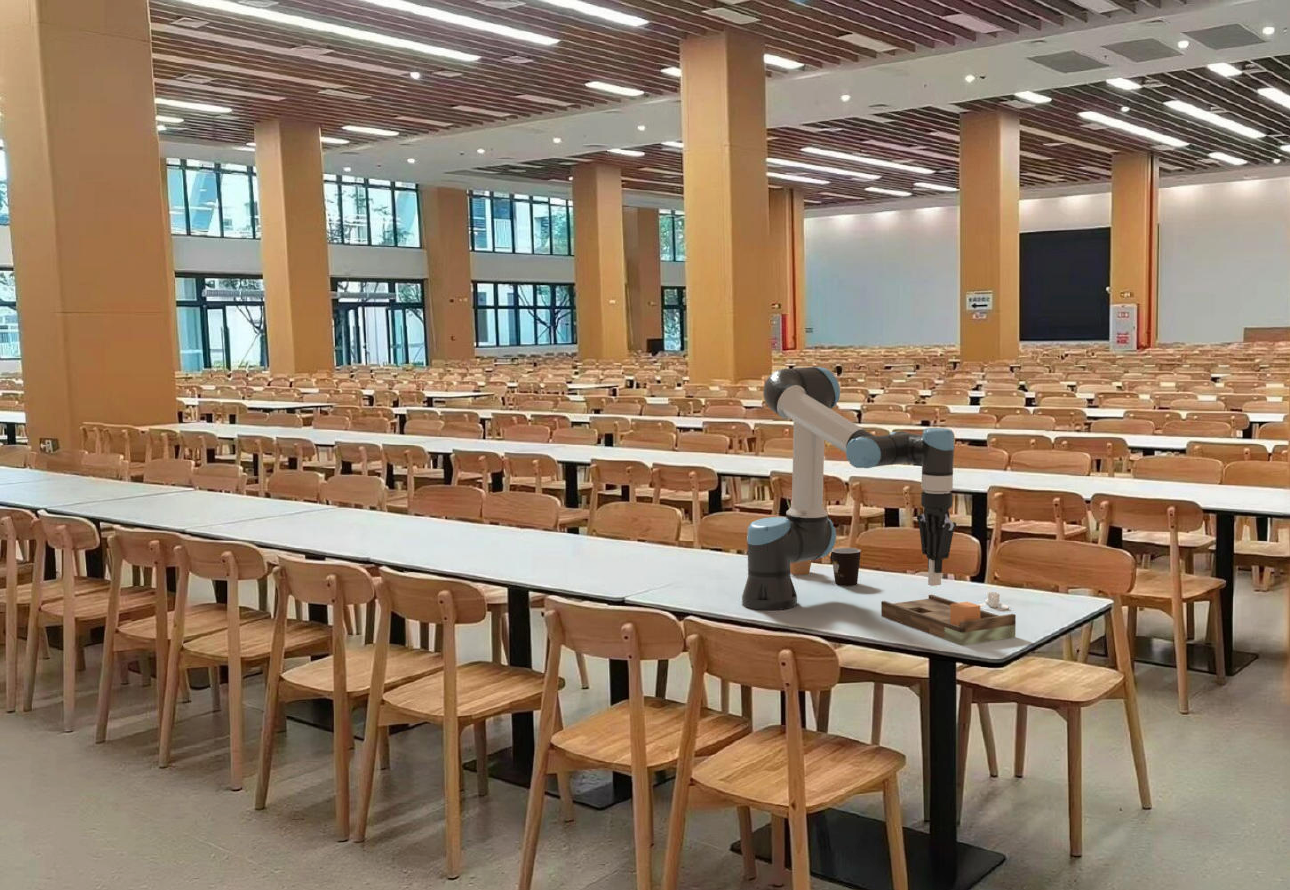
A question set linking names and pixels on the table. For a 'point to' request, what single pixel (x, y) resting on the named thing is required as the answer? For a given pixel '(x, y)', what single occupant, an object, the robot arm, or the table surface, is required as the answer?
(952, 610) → the block
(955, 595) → the table surface
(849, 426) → the robot arm
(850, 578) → the coffee mug
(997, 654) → the table surface
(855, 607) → the table surface
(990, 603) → the teacup and saucer
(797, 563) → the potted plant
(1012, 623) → the board
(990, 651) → the table surface
